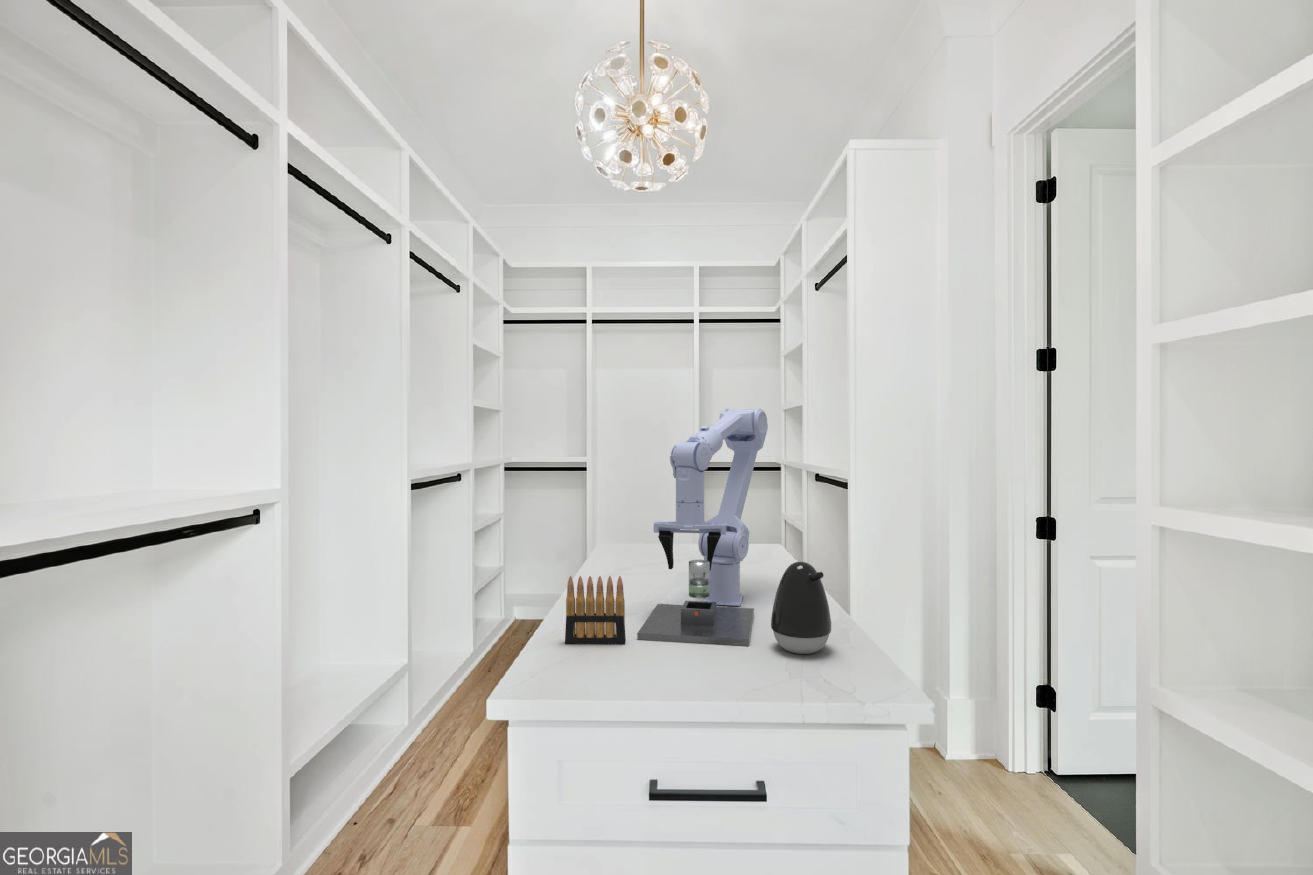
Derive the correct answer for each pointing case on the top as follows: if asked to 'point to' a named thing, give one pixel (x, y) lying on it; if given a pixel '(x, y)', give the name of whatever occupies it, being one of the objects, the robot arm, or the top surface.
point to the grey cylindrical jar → (699, 578)
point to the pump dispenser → (801, 610)
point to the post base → (698, 624)
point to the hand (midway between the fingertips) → (689, 568)
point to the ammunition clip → (595, 614)
